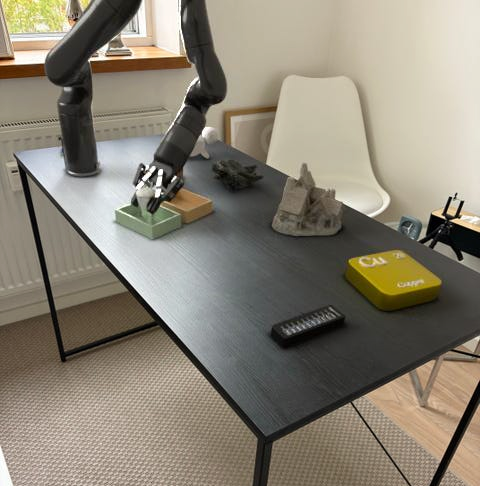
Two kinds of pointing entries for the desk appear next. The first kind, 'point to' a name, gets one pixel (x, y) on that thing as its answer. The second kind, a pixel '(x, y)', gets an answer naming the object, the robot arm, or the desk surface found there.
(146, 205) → the milkshake
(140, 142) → the desk surface
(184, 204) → the bin right
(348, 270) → the element tile
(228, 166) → the mineral specimen
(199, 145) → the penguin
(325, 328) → the multiport hub
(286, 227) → the ceramic cottage
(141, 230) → the bin left
